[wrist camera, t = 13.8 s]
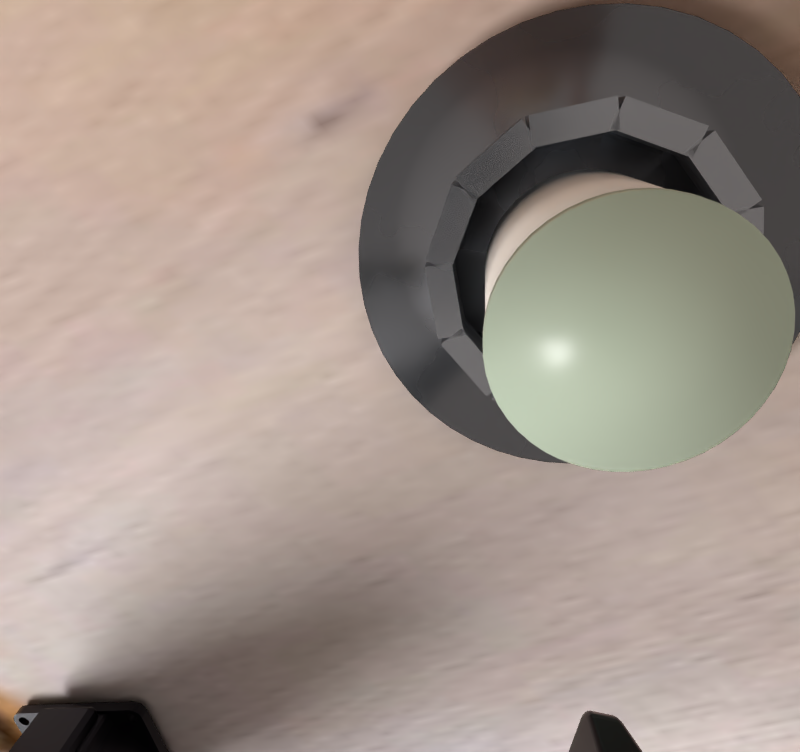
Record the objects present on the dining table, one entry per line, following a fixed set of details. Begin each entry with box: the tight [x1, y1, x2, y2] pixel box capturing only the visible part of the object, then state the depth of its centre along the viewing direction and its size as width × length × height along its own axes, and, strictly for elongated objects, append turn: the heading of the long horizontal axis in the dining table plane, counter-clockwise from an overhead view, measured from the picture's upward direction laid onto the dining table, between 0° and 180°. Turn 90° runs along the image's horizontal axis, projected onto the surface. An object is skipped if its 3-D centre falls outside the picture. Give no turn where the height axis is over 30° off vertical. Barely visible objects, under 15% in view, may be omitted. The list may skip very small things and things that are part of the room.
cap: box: [483, 169, 795, 472], centre depth 13 cm, size 5×5×6 cm
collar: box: [359, 3, 800, 463], centre depth 15 cm, size 12×12×2 cm
